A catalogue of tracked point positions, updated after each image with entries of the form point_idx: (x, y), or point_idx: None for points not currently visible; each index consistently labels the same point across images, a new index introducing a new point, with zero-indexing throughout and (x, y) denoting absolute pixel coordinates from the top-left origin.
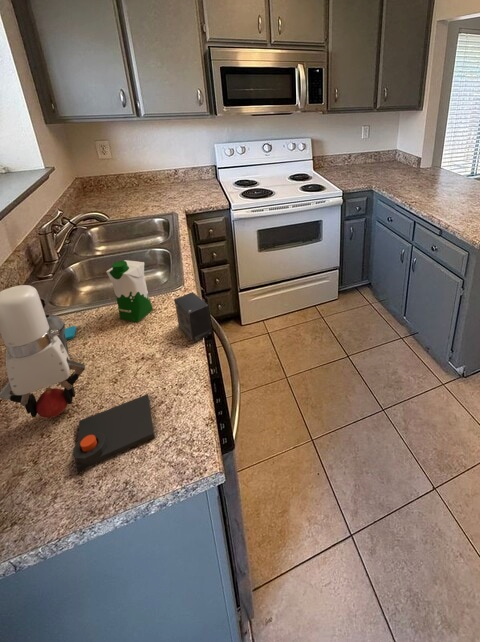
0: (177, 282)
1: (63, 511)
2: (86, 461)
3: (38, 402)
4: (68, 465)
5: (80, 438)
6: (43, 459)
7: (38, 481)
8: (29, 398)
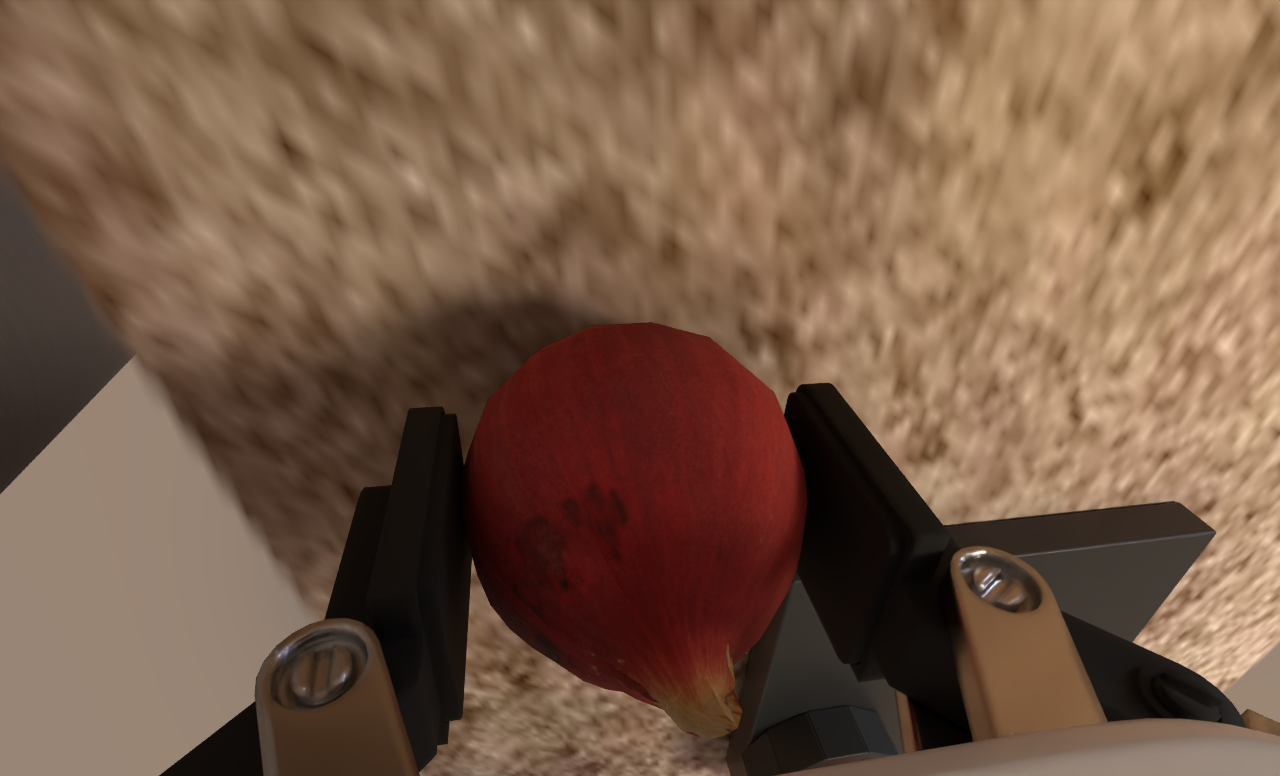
0: None
1: None
2: None
3: (527, 642)
4: None
5: (777, 691)
6: (562, 676)
7: (558, 756)
8: (426, 756)
